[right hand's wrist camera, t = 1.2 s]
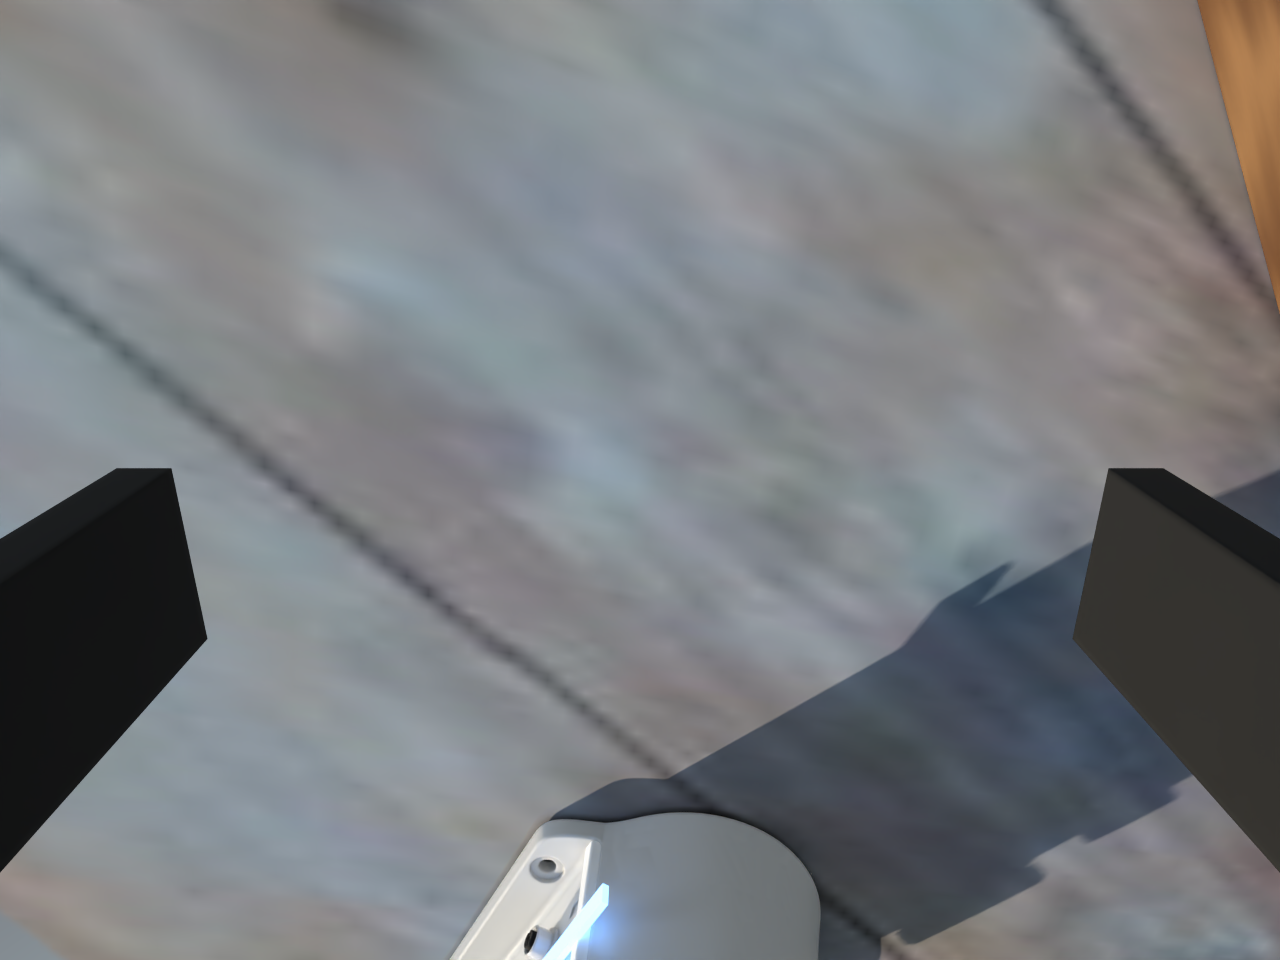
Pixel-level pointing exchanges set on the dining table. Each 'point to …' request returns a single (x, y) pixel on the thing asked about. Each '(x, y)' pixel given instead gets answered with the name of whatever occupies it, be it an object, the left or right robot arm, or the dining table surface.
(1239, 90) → the bar
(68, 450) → the dining table surface
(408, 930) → the dining table surface
